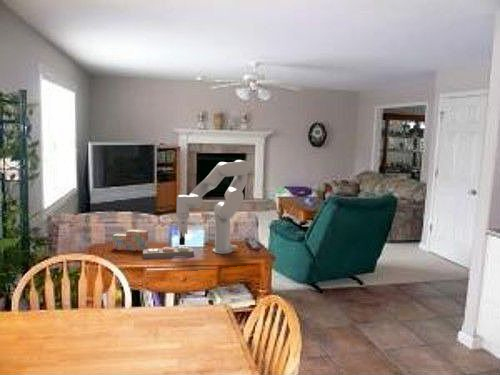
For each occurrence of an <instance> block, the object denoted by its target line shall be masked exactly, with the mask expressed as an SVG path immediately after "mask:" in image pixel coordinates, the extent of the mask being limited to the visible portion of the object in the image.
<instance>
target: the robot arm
mask: <svg viewBox="0 0 500 375" xmlns="http://www.w3.org/2000/svg"><path fill="white" fill-rule="evenodd" d="M251 169H252V168H251V163H249V162H248V161H247V160H242V159H236V160H234V161H232V162H225V161H220V162H218V163H217V164H216V166H214V168H213V169H212V170H211V171H210V172H209V174H208V175H207V176H206V177H205V178H204V179H203V180H202V181H201V182H199V183H198V184H197V185H196V186H195V187H194V188H193V190H192V191H191V192H190V193H189V194H178V195H176V219H178V223H177V224H178V225H177V227H178V229H177V230H178V233H179V246H186V238H185V237H186V236H185V235H188V219H189V218H190V208H195V209H196V208H200V207H201V206H202V205H203V203H204V200H203V197H204V196H205V195H206V194H207V193H209V192H210V191H211V190H212V191H213V190H214V189H215V188H217V187H218V185H219V184H220V183H221V181H223V179H224V178H225V177H233V180H232V181H231V183H230V185H229V186H228V188H227V189H226V191H225V193H224V199H225V201H219V202H217V203H216V204H215V206H214V212H213V213H214V225H215V226H214V248H212V252H213V253H214V254H220V255H221V254H222V255H224V254H225V255H226V254H230V253H232V252H233V249H238V244H237V245H235V244H231V219H233V217H234V216H235V215H236V213H237V211H238V210H239V208H240V207H241V205H242V203H243V201H244V197H245V196H244V193H243V190H244V189H245V187H246V185H247V182H248V176H249V175H248V174H249V173H250V171H251Z"/></svg>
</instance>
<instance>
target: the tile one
mask: <svg viewBox="0 0 500 375" xmlns="http://www.w3.org/2000/svg"><path fill="white" fill-rule="evenodd" d="M158 249H159V248H148V253H149V252H158Z"/></svg>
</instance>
